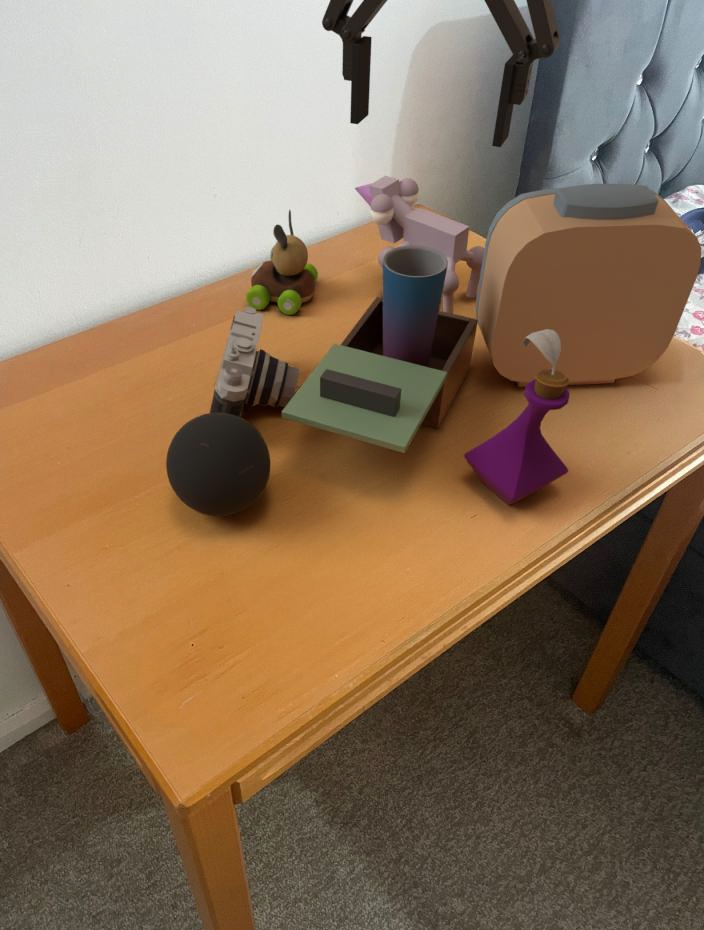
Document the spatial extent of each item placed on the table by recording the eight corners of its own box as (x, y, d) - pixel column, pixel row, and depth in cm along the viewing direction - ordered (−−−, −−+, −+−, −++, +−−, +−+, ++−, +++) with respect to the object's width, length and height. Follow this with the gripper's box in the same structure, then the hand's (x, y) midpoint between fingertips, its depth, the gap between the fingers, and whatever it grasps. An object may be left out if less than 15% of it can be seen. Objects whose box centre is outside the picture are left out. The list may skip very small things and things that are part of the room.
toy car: (264, 275, 108) (259, 198, 100) (323, 284, 106) (323, 206, 98) (241, 308, 102) (234, 229, 94) (304, 318, 100) (302, 238, 92)
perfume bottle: (562, 493, 77) (610, 344, 64) (506, 522, 74) (545, 372, 61) (512, 452, 82) (548, 304, 69) (458, 478, 79) (485, 329, 66)
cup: (370, 391, 88) (377, 272, 77) (381, 358, 92) (388, 241, 82) (428, 399, 87) (443, 280, 76) (436, 365, 91) (451, 248, 80)
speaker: (190, 462, 81) (177, 386, 73) (281, 472, 79) (277, 397, 72) (161, 530, 74) (143, 454, 67) (260, 543, 73) (253, 467, 65)
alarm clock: (626, 341, 96) (685, 168, 81) (653, 386, 90) (723, 208, 74) (466, 347, 95) (495, 174, 80) (482, 393, 89) (517, 214, 73)
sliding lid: (446, 378, 79) (450, 352, 77) (404, 453, 71) (407, 427, 69) (333, 349, 83) (334, 324, 81) (281, 417, 75) (280, 392, 73)
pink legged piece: (329, 278, 107) (329, 182, 97) (376, 251, 113) (381, 157, 103) (443, 330, 98) (457, 230, 88) (489, 298, 103) (507, 200, 94)
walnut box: (469, 367, 92) (478, 319, 87) (437, 428, 84) (444, 379, 79) (374, 344, 96) (376, 296, 91) (334, 400, 88) (335, 351, 83)
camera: (278, 463, 83) (301, 393, 76) (201, 443, 81) (217, 371, 74) (291, 377, 94) (312, 309, 87) (223, 359, 92) (239, 289, 85)
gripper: (645, -183, 53) (572, 136, 68) (320, -193, 60) (321, 98, 75) (628, -173, 48) (554, 167, 63) (278, -185, 55) (288, 123, 71)
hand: (427, 130), depth 69 cm, fingers open, 13 cm apart
